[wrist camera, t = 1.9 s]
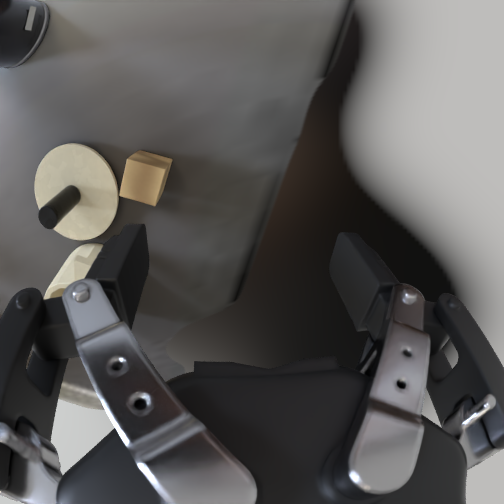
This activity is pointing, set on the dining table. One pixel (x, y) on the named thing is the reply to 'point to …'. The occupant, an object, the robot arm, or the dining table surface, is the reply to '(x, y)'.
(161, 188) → the block
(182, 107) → the dining table surface
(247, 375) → the robot arm
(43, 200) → the lid
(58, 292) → the pot
